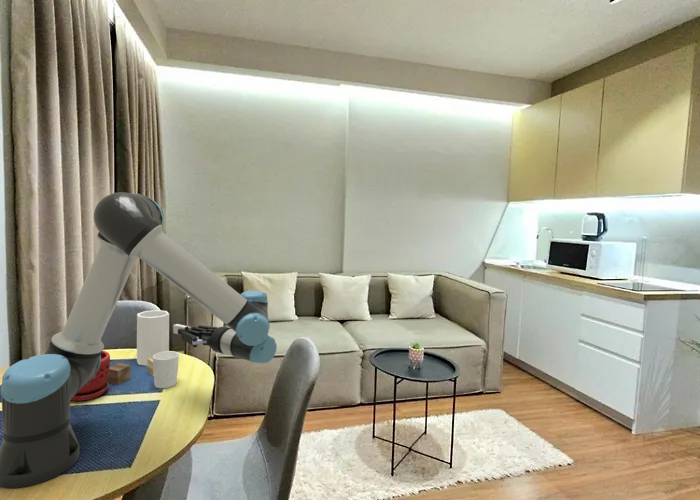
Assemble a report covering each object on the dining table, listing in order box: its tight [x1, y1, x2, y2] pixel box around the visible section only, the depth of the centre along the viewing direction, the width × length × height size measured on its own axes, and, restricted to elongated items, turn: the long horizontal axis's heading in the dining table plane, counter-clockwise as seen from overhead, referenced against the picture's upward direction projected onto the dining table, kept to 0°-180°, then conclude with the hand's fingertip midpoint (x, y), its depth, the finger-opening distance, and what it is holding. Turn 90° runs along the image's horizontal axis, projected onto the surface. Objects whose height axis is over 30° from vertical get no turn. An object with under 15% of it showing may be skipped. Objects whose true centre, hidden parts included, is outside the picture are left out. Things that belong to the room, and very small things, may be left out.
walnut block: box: [106, 362, 132, 386], centre depth 131 cm, size 5×5×5 cm
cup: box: [136, 309, 170, 367], centre depth 149 cm, size 11×11×18 cm
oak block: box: [146, 357, 154, 377], centre depth 139 cm, size 5×5×5 cm
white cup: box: [153, 350, 180, 389], centre depth 130 cm, size 8×8×10 cm
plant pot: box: [70, 350, 111, 402], centre depth 120 cm, size 13×13×12 cm
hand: (175, 328), depth 125 cm, fingers closed
